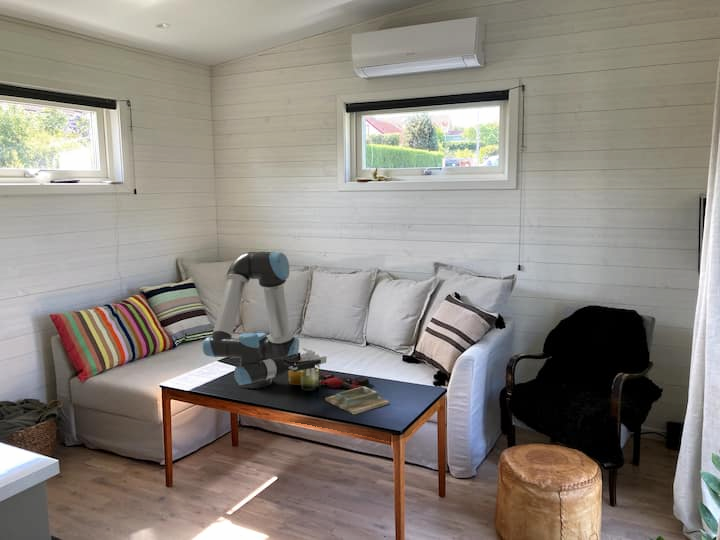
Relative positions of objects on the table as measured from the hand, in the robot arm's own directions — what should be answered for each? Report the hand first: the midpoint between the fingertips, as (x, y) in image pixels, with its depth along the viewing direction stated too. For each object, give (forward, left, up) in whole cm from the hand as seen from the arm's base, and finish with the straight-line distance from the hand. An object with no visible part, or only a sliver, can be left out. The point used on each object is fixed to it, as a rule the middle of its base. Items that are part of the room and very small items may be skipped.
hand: (320, 357), depth 250 cm
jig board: (+13, +9, -19) cm, 24 cm away
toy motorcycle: (-8, +15, -19) cm, 26 cm away
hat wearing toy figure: (0, -5, -7) cm, 9 cm away
